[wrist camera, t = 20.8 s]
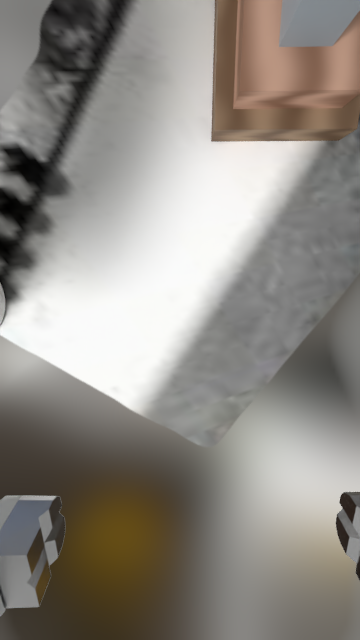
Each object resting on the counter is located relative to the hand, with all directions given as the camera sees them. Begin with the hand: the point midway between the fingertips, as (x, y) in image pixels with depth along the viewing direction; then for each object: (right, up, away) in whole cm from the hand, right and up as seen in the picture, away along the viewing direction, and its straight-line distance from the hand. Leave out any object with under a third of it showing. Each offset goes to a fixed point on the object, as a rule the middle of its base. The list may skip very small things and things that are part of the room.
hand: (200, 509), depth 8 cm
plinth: (+11, +36, +25) cm, 45 cm away
